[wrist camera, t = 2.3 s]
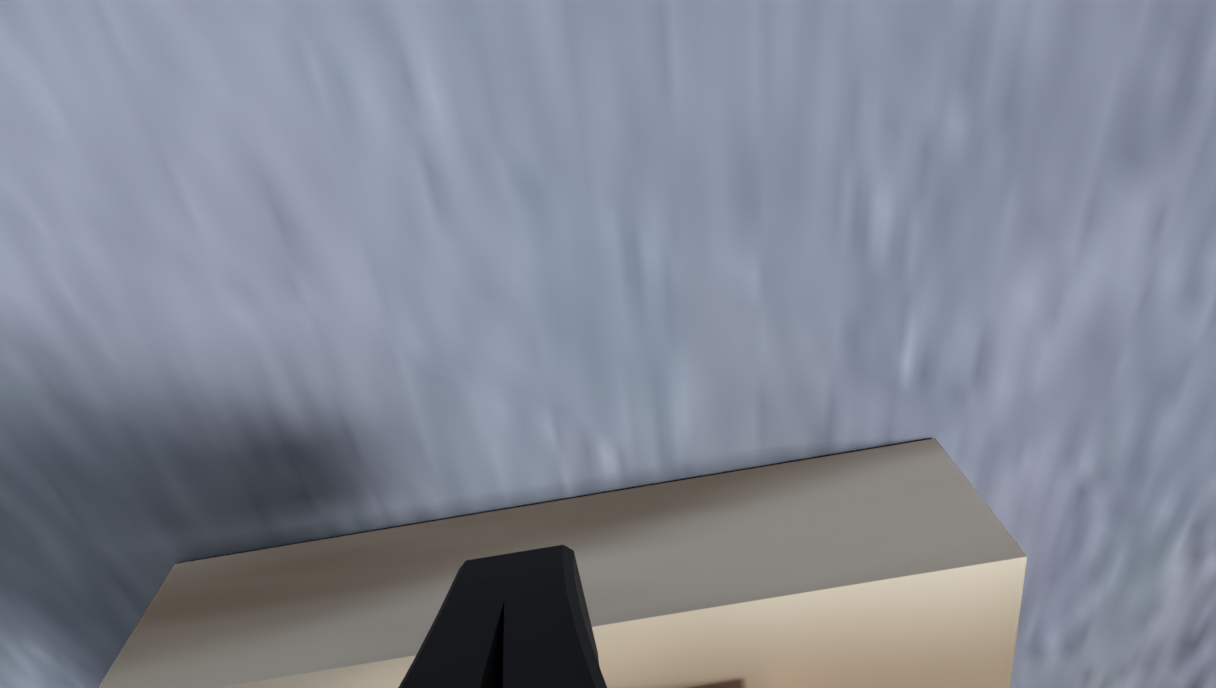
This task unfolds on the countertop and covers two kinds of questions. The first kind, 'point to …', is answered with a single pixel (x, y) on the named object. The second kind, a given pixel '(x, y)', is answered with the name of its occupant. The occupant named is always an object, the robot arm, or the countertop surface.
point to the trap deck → (638, 586)
